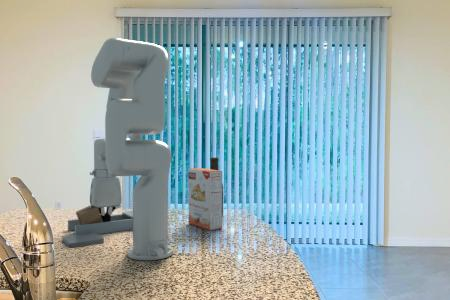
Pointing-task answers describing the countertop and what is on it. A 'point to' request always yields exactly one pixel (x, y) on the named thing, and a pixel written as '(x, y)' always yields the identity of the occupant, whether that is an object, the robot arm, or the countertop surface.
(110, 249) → the countertop surface
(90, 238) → the coaster
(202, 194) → the cracker box
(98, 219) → the block
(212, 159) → the beer bottle
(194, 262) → the countertop surface
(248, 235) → the countertop surface
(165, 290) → the countertop surface
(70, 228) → the channel
